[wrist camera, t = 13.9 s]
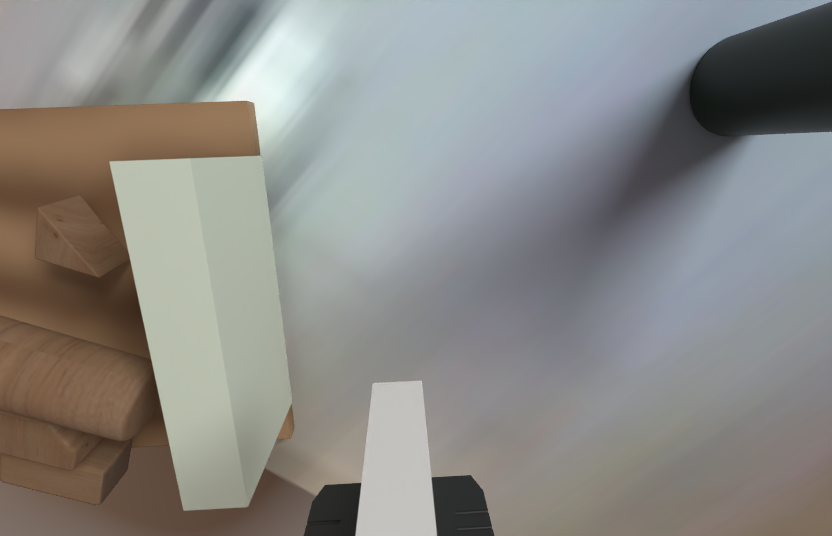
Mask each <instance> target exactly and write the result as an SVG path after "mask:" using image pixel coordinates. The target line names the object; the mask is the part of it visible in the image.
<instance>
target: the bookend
mask: <svg viewBox="0 0 832 536" xmlns="http://www.w3.org/2000/svg"><path fill="white" fill-rule="evenodd" d="M109 162H110V167H111V172H112V177H113V181H114V186H115V191H116V195H117V200H118V205H119V210H120V214H121V219H122V224H123V228H124V233H125V238H126V242H127V247H128V252H129V257H130V261H131V266H132V271H133V275H134V280H135V285H136V290H137V294H138V299H139V304H140V308H141V313H142V318H143V322H144V327H145V332H146V337H147V341H148V346H149V351H150V355H151V360H152V365H153V370H154V374H155V379H156V384H157V388H158V393H159V398H160V402H161V407H162V412H163V417H164V421H165V426H166V431H167V435H168V440H169V445H170V449H171V454H172V458H173V464H174V468H175V473H176V478H177V482H178V487H179V492H180V497H181V501H182V506H183V510H184V511H187V510H204V509H220V508H238V507H248V505H249V503H250V500H251V498H252V496H253V493H254V491H255V489H256V486H257V484H258V482H259V479H260V477H261V474H262V472H263V470H264V467H265V465H266V463H267V460H268V458H269V456H270V453H271V451H272V449H273V446H274V444H275V441H276V439H277V437H278V434H279V432H280V430H281V427H282V425H283V423H284V420H285V418H286V415H287V413H288V411H289V408H290V406H291V404H292V395H291V387H290V379H289V371H288V363H287V355H286V347H285V339H284V330H283V322H282V314H281V306H280V298H279V290H278V282H277V274H276V266H275V258H274V250H273V242H272V234H271V226H270V218H269V209H268V201H267V193H266V185H265V177H264V169H263V161H262V156H240V157H213V158H187V159H161V160H135V161H109Z"/></svg>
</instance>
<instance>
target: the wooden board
mask: <svg viewBox="0 0 832 536" xmlns="http://www.w3.org/2000/svg"><path fill="white" fill-rule="evenodd" d="M240 156H260V148H259V140H258V132H257V124H256V116H255V108H254V103H252V102H249V101H230V102H201V103H172V104H143V105H114V106H85V107H55V108H26V109H0V315H1V316H5V317H8V318H12V319H15V320H18V321H22V322H25V323H29V324H32V325H35V326H39V327H42V328H46V329H49V330H53V331H56V332H59V333H63V334H66V335H70V336H73V337H77V338H80V339H83V340H87V341H90V342H94V343H97V344H101V345H104V346H107V347H111V348H114V349H118V350H121V351H125V352H128V353H131V354H135V355H138V356H142V357H145V358H148V359H151V355H150V351H149V346H148V341H147V337H146V332H145V327H144V322H143V318H142V313H141V308H140V304H139V299H138V294H137V290H136V285H135V280H134V275H133V271H132V266H131V261H128V262H127V263H125V264H123V265H121V266H120V267H118V268H116V269H114V270H113V271H111V272H109V273H107V274H106V275H104V276H102V277H100V278H96V277H93V276H90V275H87V274H83V273H80V272H77V271H74V270H70V269H67V268H64V267H61V266H57V265H54V264H51V263H48V262H45V261H41V260H38V259H35V239H36V220H37V208H38V207H41V206H45V205H48V204H52V203H55V202H58V201H62V200H65V199H68V198H72V197H75V196H81V197H82V198H83V200H84V201H85V202H86V203H87V204H88V206H89V207H90V208H91V209H92V210H93V212H94V213H95V214H96V215H97V216H98V218H99V219H100V220H101V221H102V222H103V224H104V225H105V226H106V227H107V228H108V230H109V231H110V232H111V233H112V234H113V236H114V237H115V238H116V239H117V240H118V242H119V243H120V244H121V245H122V246H123V248H124V249H125V250H126V251H127V252H128V247H127V242H126V238H125V233H124V228H123V224H122V219H121V214H120V210H119V205H118V200H117V195H116V191H115V186H114V181H113V177H112V172H111V167H110V162H109V161H135V160H161V159H187V158H213V157H240ZM128 254H129V252H128ZM293 431H294V420H293V412H292V404H291V406H290V408H289V411H288V413H287V415H286V418H285V420H284V423H283V425H282V427H281V430H280V432H279V434H278V437H277V439H276V440H278V439H291V436H292V433H293ZM131 440H132V445H131V448H132V447H150V446H168V445H169V440H168V435H167V431H166V426H165V421H164V417H163V412H162V407H161V402H159V404H158V406H157V408H156V410H155V411H154V413H153V415H152V416H151V418H150V419H149V420H148V422H147V423H146V424H145V426H144V427H143V428H142V429H141V430H140V431H139V432H138V433H137V434H136V436H134V437H133V438H131Z"/></svg>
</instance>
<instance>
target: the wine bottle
mask: <svg viewBox="0 0 832 536" xmlns="http://www.w3.org/2000/svg"><path fill="white" fill-rule="evenodd" d="M690 100H691V106H692V109H693V112H694V115H695V116H696V118H697V120H698V121H699V122H700V124H701V125H702V126H703V127H705V128H706V129H707V130H709V131H710V132H713V133H715V134H718V135H723V136H740V135H763V134H786V133H809V132H832V2H830V3H827V4H824V5H821V6H818V7H815V8H812V9H809V10H806V11H803V12H801V13H798V14H795V15H792V16H789V17H786V18H783V19H780V20H777V21H774V22H771V23H768V24H766V25H763V26H760V27H757V28H754V29H751V30H748V31H745V32H742V33H739V34H736V35H733V36H731V37H728V38H726V39H724V40H722V41H720V42H719V43H717V44H716V45H715V46H713V47H712V48H711V49H710V50H709V51H708V52H707V53H706V54H705V55H704V57H703V58H702V59H701V61H700V63H699V64H698V66H697V68H696V70H695V72H694V75H693V78H692V82H691V88H690Z"/></svg>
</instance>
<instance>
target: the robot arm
mask: <svg viewBox="0 0 832 536" xmlns="http://www.w3.org/2000/svg"><path fill="white" fill-rule="evenodd" d="M304 536H494V533H493V529H492V525H491V521H490V517H489V513H488V509H487V505H486V501H485V497H484V492H483V490H482V489H481V488H480V486H479V485H478V484H477V483H476V481H475V480H474V479H473V478H472V476H471V475H467V476H449V477H432V478H431V469H430V459H429V449H428V439H427V429H426V418H425V408H424V398H423V388H422V381H406V382H387V383H373V387H372V396H371V404H370V413H369V422H368V431H367V439H366V448H365V457H364V466H363V474H362V483H353V484H335V485H325V486H324V487H323V488H322V490H321V491H320V492H319V494H318V495H317V496H316V498H315V499H314V500H313V502H312V505H311V510H310V513H309V517H308V521H307V526H306V529H305V534H304Z"/></svg>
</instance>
